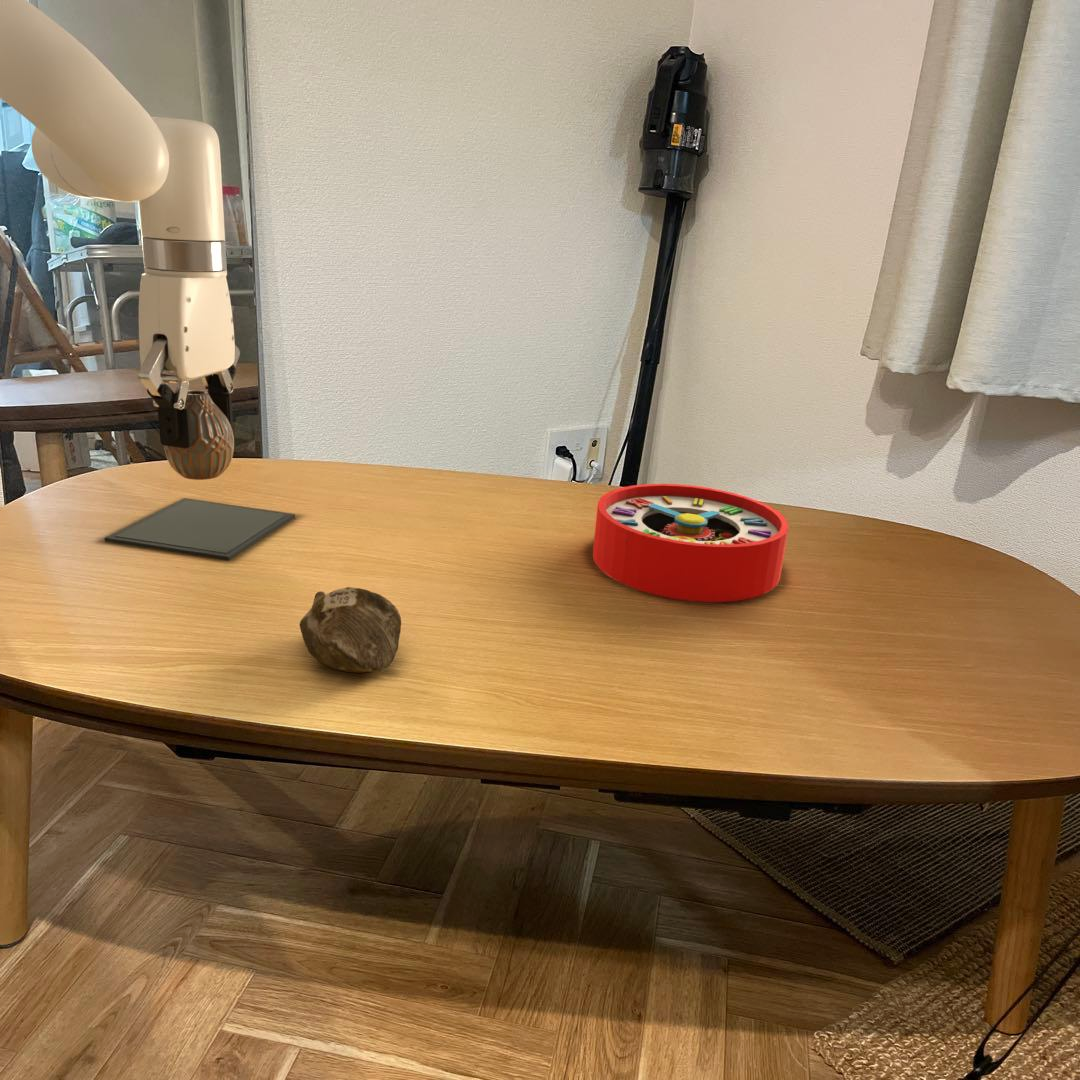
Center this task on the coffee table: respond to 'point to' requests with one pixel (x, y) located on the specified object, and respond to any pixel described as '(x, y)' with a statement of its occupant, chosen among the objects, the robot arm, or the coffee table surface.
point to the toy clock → (689, 542)
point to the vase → (203, 440)
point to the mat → (202, 529)
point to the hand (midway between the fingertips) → (198, 436)
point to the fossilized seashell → (352, 630)
